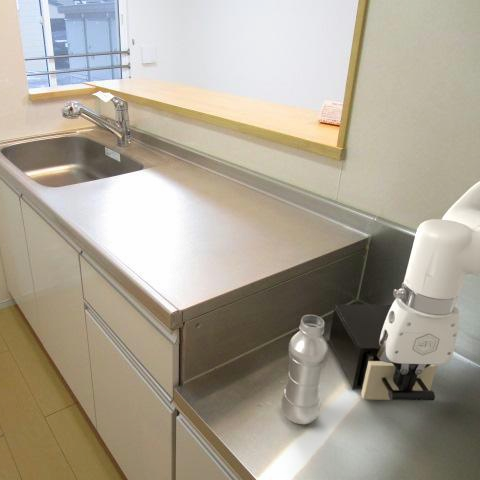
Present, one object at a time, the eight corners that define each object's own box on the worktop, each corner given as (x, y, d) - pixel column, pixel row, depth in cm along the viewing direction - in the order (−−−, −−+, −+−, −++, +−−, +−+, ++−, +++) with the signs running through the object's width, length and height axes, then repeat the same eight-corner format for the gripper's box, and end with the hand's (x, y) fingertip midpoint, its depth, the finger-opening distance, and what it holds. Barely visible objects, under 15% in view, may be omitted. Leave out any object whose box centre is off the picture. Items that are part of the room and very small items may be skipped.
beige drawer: (441, 420, 77) (452, 385, 74) (373, 419, 78) (382, 384, 74) (394, 352, 94) (402, 321, 91) (338, 352, 94) (344, 320, 91)
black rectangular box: (419, 389, 85) (431, 348, 81) (352, 389, 86) (360, 348, 82) (386, 342, 98) (395, 304, 94) (328, 341, 99) (334, 304, 95)
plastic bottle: (321, 409, 81) (338, 316, 73) (312, 435, 76) (329, 338, 68) (286, 396, 84) (298, 305, 76) (275, 420, 79) (286, 326, 71)
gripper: (389, 309, 68) (366, 402, 75) (491, 311, 67) (458, 404, 75) (370, 284, 75) (351, 371, 82) (462, 285, 74) (434, 373, 82)
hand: (402, 387), depth 78 cm, fingers closed
